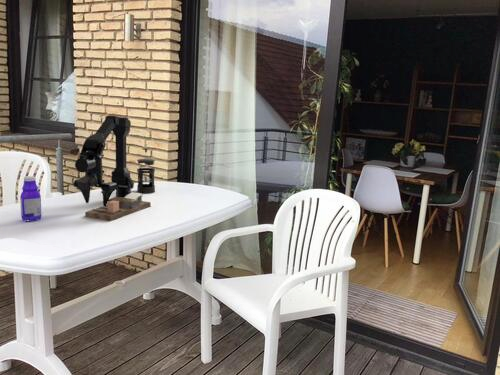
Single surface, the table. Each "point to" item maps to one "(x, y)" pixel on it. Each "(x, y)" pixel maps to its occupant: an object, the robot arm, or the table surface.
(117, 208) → the peach tinted cube
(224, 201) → the table surface
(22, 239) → the table surface
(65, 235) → the table surface
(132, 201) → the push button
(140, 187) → the french press
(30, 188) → the bottle
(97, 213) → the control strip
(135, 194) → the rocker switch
